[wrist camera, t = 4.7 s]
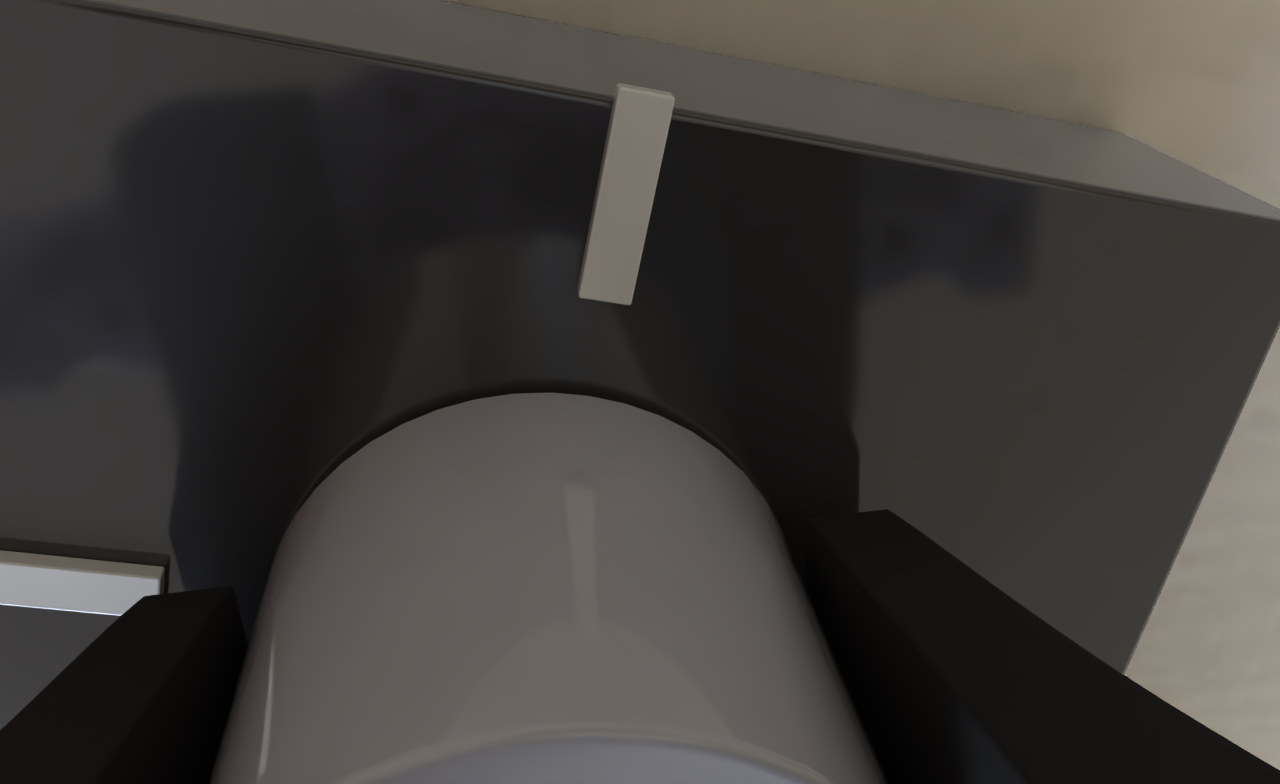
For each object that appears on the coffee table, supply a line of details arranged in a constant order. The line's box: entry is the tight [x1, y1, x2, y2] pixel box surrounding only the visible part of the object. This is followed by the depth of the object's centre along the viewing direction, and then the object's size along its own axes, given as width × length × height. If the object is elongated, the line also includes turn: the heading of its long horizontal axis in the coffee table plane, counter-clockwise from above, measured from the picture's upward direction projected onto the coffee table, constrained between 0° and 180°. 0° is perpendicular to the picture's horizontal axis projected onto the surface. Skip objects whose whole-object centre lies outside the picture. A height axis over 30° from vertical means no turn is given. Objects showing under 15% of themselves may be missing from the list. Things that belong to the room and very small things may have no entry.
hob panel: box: [0, 0, 1280, 730], centre depth 10 cm, size 10×8×3 cm
